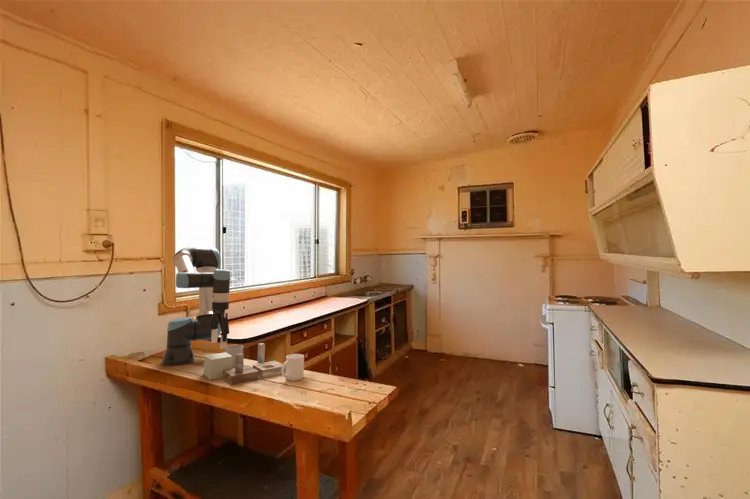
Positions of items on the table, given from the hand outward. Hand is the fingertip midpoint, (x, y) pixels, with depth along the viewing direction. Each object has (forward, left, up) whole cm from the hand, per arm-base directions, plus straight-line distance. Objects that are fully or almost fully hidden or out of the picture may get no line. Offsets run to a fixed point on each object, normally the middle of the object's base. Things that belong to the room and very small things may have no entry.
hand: (218, 345), depth 166 cm
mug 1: (-10, +12, -14) cm, 21 cm away
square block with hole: (+13, +20, -14) cm, 28 cm away
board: (+13, +6, -14) cm, 20 cm away
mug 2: (+29, +24, -14) cm, 40 cm away
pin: (+2, +21, -14) cm, 25 cm away
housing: (0, 0, -14) cm, 14 cm away
